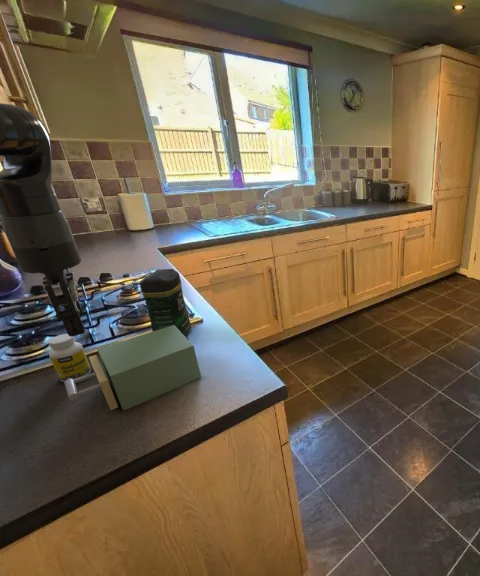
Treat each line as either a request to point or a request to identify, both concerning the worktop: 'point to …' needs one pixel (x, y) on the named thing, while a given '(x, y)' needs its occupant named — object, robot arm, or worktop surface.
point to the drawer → (103, 384)
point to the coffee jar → (165, 300)
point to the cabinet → (149, 365)
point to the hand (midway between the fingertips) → (76, 324)
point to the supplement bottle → (68, 357)
